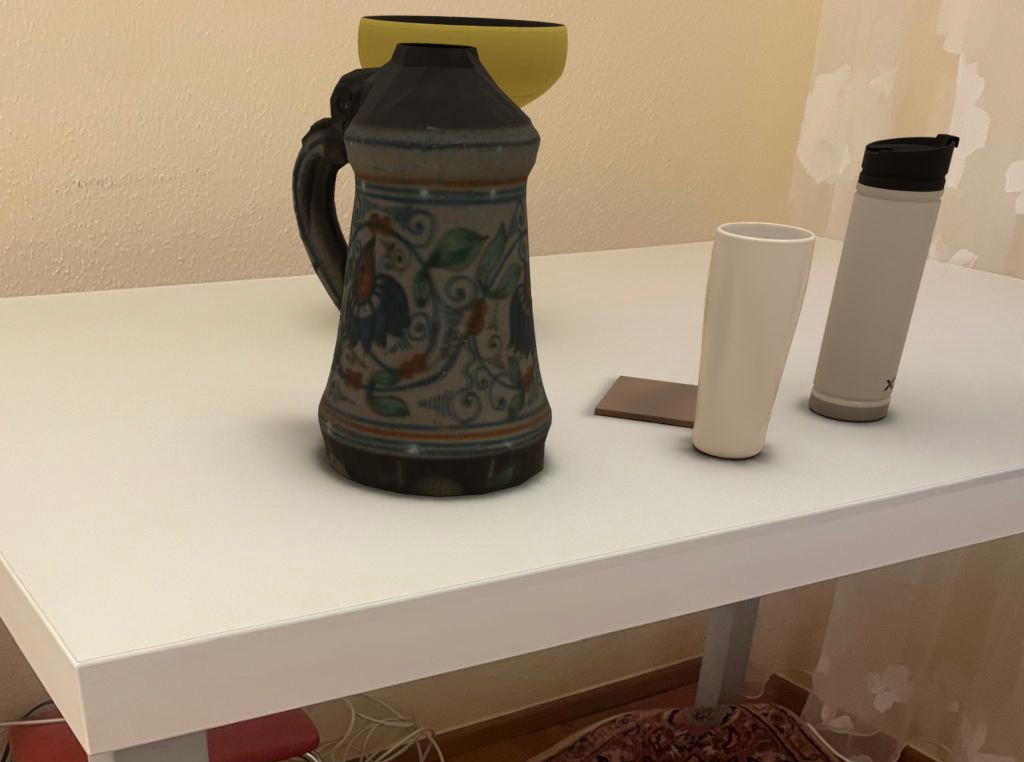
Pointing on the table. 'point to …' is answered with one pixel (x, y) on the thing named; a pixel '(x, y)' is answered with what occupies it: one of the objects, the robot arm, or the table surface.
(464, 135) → the beer stein
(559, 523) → the table surface
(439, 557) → the table surface
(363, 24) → the cocktail glass
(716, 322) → the drinking glass
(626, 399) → the coaster
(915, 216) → the travel mug
